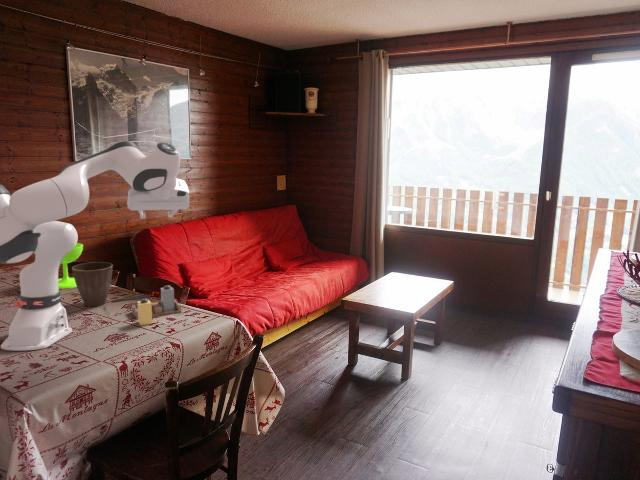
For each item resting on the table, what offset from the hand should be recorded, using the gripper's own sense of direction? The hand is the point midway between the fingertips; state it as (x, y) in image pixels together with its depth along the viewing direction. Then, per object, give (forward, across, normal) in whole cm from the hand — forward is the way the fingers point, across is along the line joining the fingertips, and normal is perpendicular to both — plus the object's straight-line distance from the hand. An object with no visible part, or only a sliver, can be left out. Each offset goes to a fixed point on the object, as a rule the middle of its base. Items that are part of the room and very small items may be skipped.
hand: (156, 216), depth 166 cm
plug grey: (+38, +6, -14) cm, 41 cm away
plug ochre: (+33, -4, -22) cm, 40 cm away
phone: (+52, -3, +2) cm, 52 cm away
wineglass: (+75, -25, +34) cm, 86 cm away
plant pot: (+53, -17, +5) cm, 56 cm away
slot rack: (+38, +2, -15) cm, 41 cm away
